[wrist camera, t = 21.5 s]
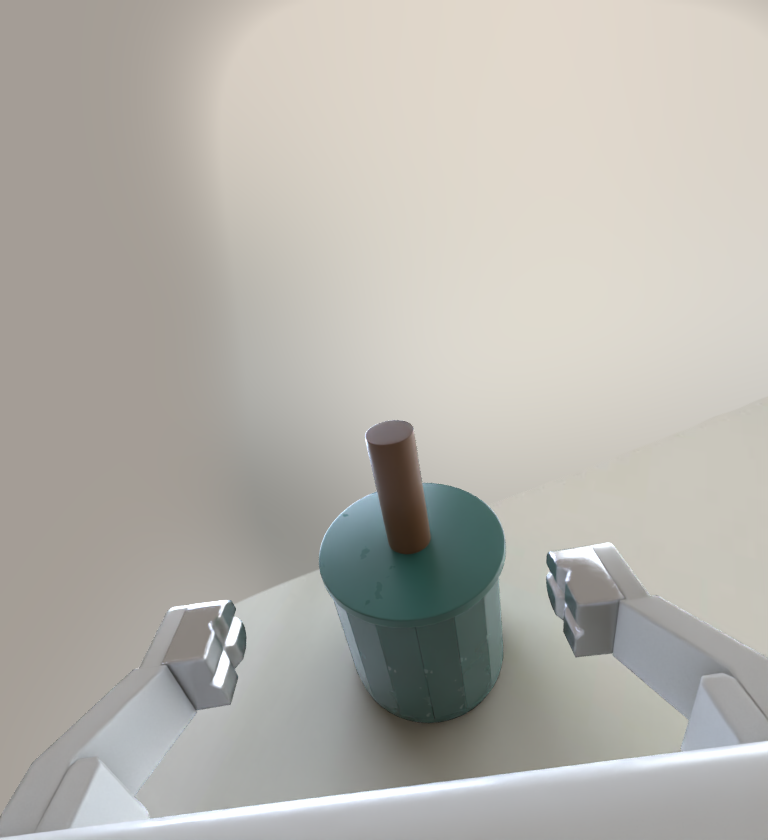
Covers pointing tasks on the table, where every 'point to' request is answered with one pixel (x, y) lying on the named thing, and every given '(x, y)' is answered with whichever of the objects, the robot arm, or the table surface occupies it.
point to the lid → (410, 542)
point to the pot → (430, 661)
